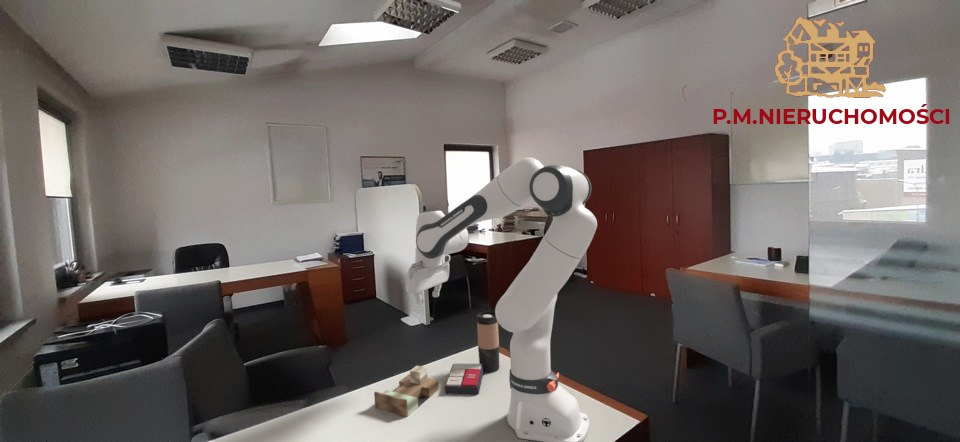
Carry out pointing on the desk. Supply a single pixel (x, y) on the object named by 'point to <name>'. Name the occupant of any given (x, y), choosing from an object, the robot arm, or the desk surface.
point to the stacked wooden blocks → (406, 396)
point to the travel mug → (488, 341)
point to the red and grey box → (464, 379)
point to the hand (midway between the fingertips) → (427, 300)
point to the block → (418, 374)
